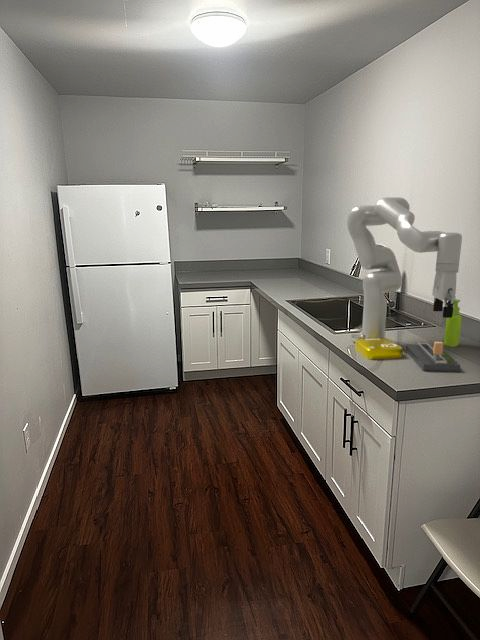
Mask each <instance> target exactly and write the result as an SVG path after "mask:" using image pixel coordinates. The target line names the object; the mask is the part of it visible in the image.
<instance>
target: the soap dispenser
mask: <svg viewBox="0 0 480 640" xmlns="http://www.w3.org/2000/svg"><path fill="white" fill-rule="evenodd" d="M460 302H461V299H456V298H455V303H454V307H453V315H452V318H445V319H446V321H445V328H444V336H443V346H447V347H452V348H453V347H455V348H456V347H458V346H459V345H460V344H459V343H460V334H461V328H462V327H461V326H462V319H463V318H462V317H463V316H462V315H461V314H460V310H461V309H460V308H461V307H459V303H460Z"/></svg>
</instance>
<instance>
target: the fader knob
mask: <svg viewBox="0 0 480 640" xmlns="http://www.w3.org/2000/svg"><path fill="white" fill-rule="evenodd" d="M433 345H434V347H433V354H436V355H433V357H434V358H435V359H436V360H441V358H440V357H439V355H442V352H443V350H444V341H433Z"/></svg>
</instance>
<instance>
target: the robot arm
mask: <svg viewBox="0 0 480 640" xmlns="http://www.w3.org/2000/svg"><path fill="white" fill-rule="evenodd" d="M415 220H416V219H415V215H414V213H413V212H412V211H410V204H409V202H408V200H407V199H405V198H403V197H400V196H399V197H391V196H390V197H389V196H387V197H383V198H381V199H379V200H378V201H377V202H375V205H360V206H355V207H354V208H352V209H351V210H350V212H349V213H348V216H347V220H346V225H347V230H348V233H349V235H350V237H351V240H352V241H353V244H354V248H355V251H356V255H357V258H358V261H359V265H360V266H361V268H362V269H363V270H366V271H371V270H376V271H371V272H369V273H367V274H366V275H365V276H364V277H363V280H362V289H363V310H362V311H363V312H362V325H361V330H360V331H359V332H358V333H350V338H351V339H355V340H357V339H375V338H385V335H386V334H385V332H386V322H387V321H386V320H387V305H388V304H387V299H386V297H385V293H386V294H387V293H394V292H396V291H398V290H400V289H401V287H402V285H403V277H402V273H401V271H400V267H399V264H398V261H397V258H396V255H395V253H394V251H393V250H392V249H391V248H389V247H387V246H377V244H376V241H375V237H374V235H373V234H372V232H371V231H370V230H369V229H368V228H367V227H368V226H369V227H371V226H372V227H373V226H374V227H375V226H383V225H389V226H390V227H392V229H394V230H396V233H397V236H398V239H399V241H400V242H401V244H403V245H405V247H407V248H409V249H410V250H411V251H413V252H415V253H419V254H420V253H421V254H422V253H434V252H435V253H436V261H435V263H436V264H435V276H434V278H433V279H434V281H433V287H432V296H433V297H434V298H433V307H432V308H433V309H432V311H433V312H442V318H443V319H444V318H445V319H446V318H452V315H453V307H454V303H455V299H456V292H457V274H458V273H459V269H460V261H461V259H460V258H461V251H462V242H463V236H462V234H461V233H459V232H445V231H440V230H428V231H427V230H425V231H421V230H419V229H418V228H416V227H415V226H413V224H414V223H415ZM377 270H378V271H377Z"/></svg>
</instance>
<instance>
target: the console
mask: <svg viewBox="0 0 480 640" xmlns="http://www.w3.org/2000/svg"><path fill="white" fill-rule="evenodd" d="M404 345H405V347H404V351H405V352H406V353H407V354H408V355H409V357H410V358H411V359H412V360H413V361H414V362H415V364H416V365H417V366H418V367H419V368H420V369H421V370H422V371H424V372H454V373H458V372H459V373H460V371H461V364H459V363H458V361H456V360H455V359H454V358H453V357H452V356H450V354H449V353H447V351H445V350H444V349H443V352H442V355H439V357H440V358H441V360H436V359H435V358H434V357H433V355H436V354H433V347H434V344H429V343H428V342H427V343H426V342H417V343H416V344H404Z"/></svg>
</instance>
